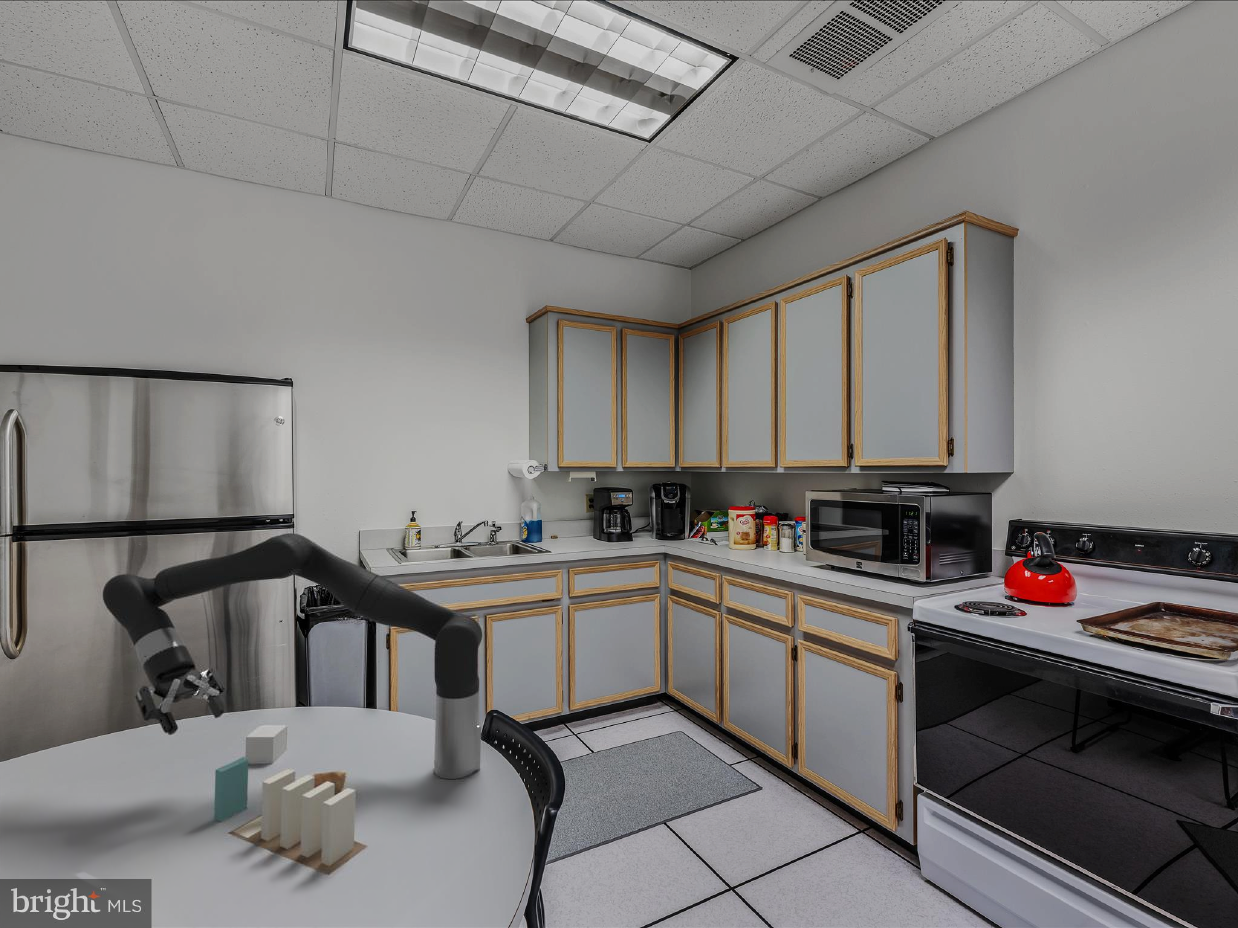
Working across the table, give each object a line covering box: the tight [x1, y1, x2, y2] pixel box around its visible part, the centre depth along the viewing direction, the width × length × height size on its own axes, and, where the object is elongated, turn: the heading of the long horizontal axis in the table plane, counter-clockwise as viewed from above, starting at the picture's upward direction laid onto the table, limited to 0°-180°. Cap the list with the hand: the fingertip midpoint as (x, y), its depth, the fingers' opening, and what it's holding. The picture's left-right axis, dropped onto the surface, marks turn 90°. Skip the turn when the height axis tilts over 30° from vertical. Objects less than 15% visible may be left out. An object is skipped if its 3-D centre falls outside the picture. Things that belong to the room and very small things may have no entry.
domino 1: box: [261, 768, 296, 841], centre depth 105 cm, size 2×5×10 cm, turn 156°
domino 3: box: [301, 781, 335, 857], centre depth 101 cm, size 2×5×10 cm, turn 156°
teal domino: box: [213, 757, 249, 823], centre depth 110 cm, size 2×5×10 cm, turn 156°
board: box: [228, 814, 368, 876], centre depth 103 cm, size 25×8×1 cm, turn 66°
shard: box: [312, 771, 347, 796], centre depth 120 cm, size 11×8×2 cm
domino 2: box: [280, 774, 315, 849], centre depth 103 cm, size 2×5×10 cm, turn 156°
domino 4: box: [321, 787, 356, 866], centre depth 99 cm, size 2×5×10 cm, turn 156°
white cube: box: [244, 724, 288, 765], centre depth 133 cm, size 6×6×6 cm
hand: (197, 723), depth 115 cm, fingers open, 8 cm apart
